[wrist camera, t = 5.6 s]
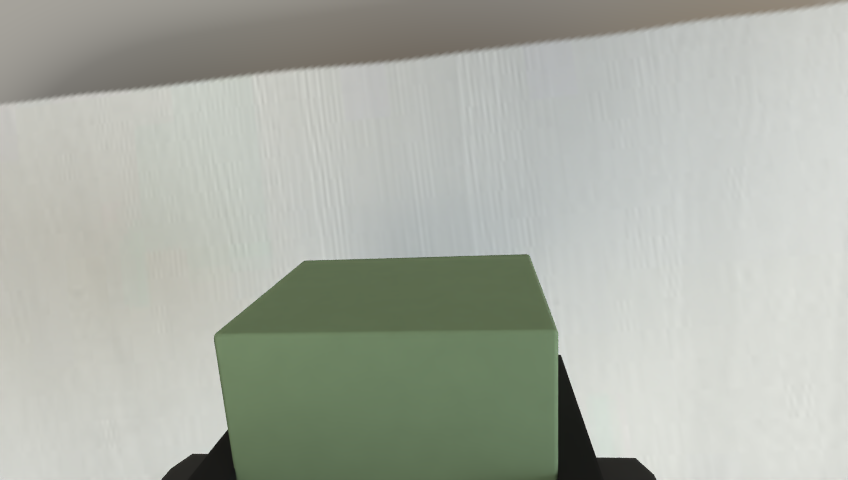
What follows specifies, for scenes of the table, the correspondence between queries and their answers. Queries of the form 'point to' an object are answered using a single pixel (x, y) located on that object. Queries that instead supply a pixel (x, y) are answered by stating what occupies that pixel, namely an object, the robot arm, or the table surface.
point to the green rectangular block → (394, 373)
